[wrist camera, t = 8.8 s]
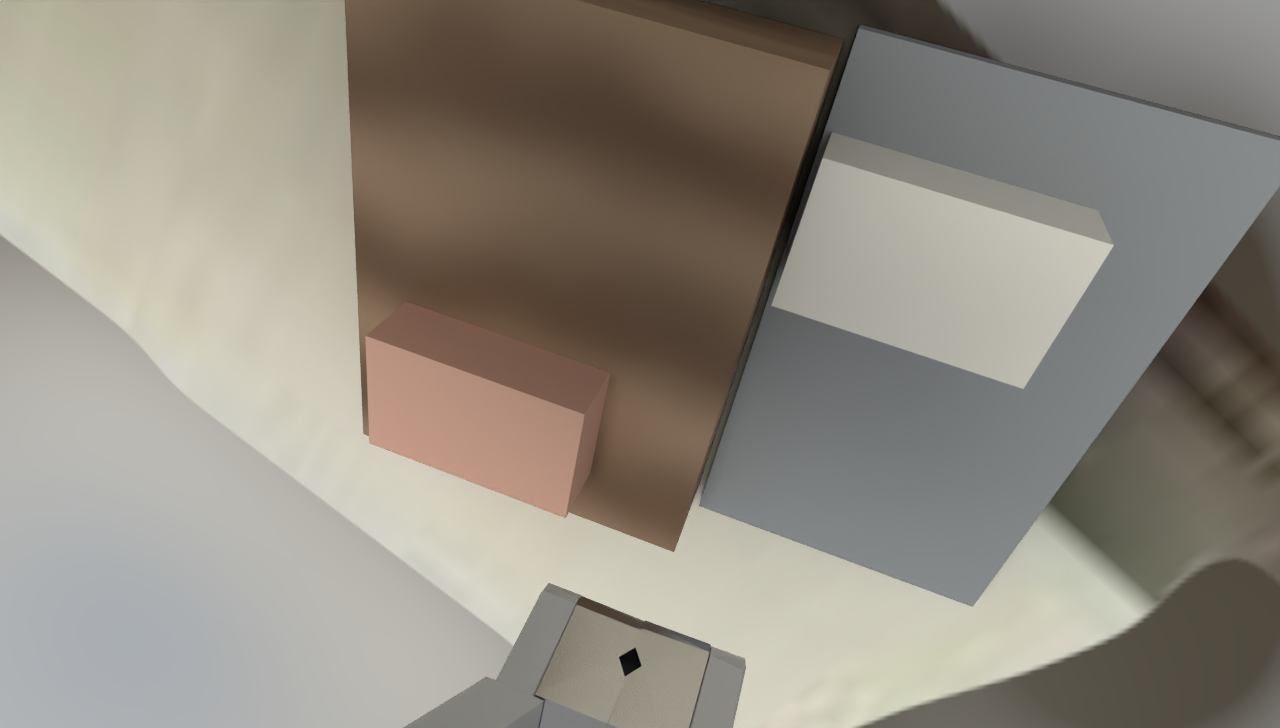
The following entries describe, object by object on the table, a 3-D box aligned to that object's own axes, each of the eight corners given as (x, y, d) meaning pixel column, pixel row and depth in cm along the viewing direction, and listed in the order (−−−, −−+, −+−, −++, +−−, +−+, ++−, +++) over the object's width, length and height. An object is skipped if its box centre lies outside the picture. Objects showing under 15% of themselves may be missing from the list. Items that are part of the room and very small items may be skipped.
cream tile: (832, 132, 24) (822, 157, 22) (1098, 210, 22) (1114, 245, 20) (783, 271, 27) (771, 305, 25) (1016, 347, 25) (1023, 389, 23)
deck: (418, -76, 25) (342, -66, 21) (844, 39, 23) (829, 69, 19) (414, 382, 36) (363, 433, 33) (698, 486, 34) (674, 552, 31)
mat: (860, 24, 22) (858, 28, 22) (1298, 141, 21) (1307, 148, 20) (702, 496, 34) (698, 505, 34) (971, 595, 32) (972, 606, 32)
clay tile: (405, 301, 28) (365, 335, 26) (610, 372, 27) (584, 414, 25) (405, 405, 31) (369, 442, 29) (590, 473, 30) (565, 517, 28)
